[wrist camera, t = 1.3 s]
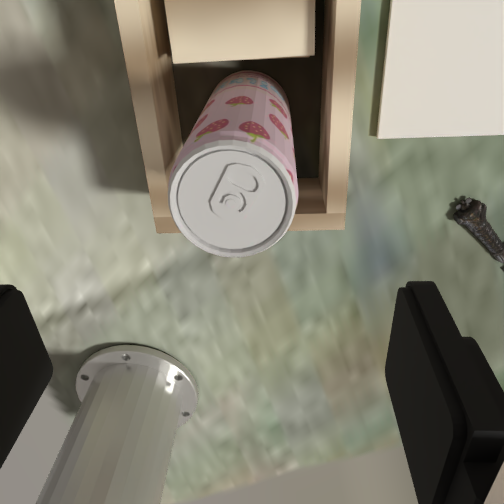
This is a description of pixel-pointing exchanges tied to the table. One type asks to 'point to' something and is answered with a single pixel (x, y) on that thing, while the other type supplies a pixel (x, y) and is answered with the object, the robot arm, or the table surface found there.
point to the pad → (443, 69)
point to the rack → (168, 124)
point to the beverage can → (237, 169)
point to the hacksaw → (479, 226)
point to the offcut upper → (240, 29)
